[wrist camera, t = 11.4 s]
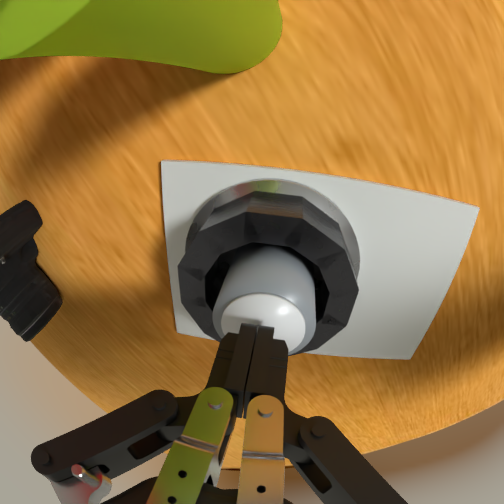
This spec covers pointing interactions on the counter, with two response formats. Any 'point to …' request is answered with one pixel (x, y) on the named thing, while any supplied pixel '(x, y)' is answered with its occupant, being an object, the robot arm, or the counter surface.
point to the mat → (369, 241)
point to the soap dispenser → (144, 31)
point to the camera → (24, 274)
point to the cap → (268, 294)
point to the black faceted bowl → (277, 233)
